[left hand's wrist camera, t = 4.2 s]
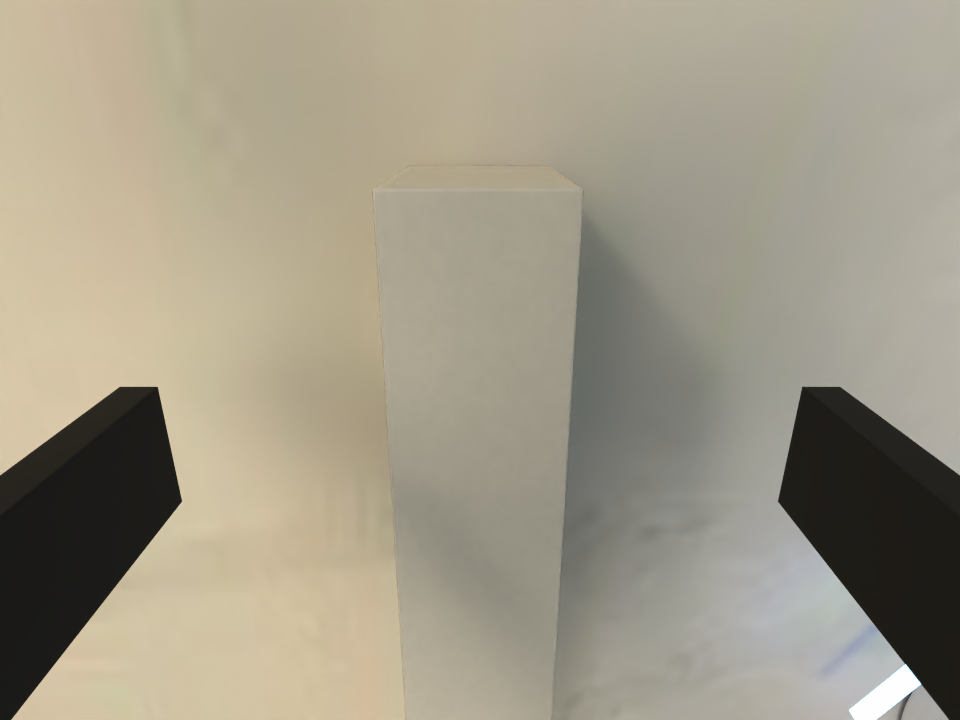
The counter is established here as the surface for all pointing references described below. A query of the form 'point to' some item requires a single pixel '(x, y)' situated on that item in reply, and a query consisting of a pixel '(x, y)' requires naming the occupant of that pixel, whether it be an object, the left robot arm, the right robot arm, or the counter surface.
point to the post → (478, 427)
